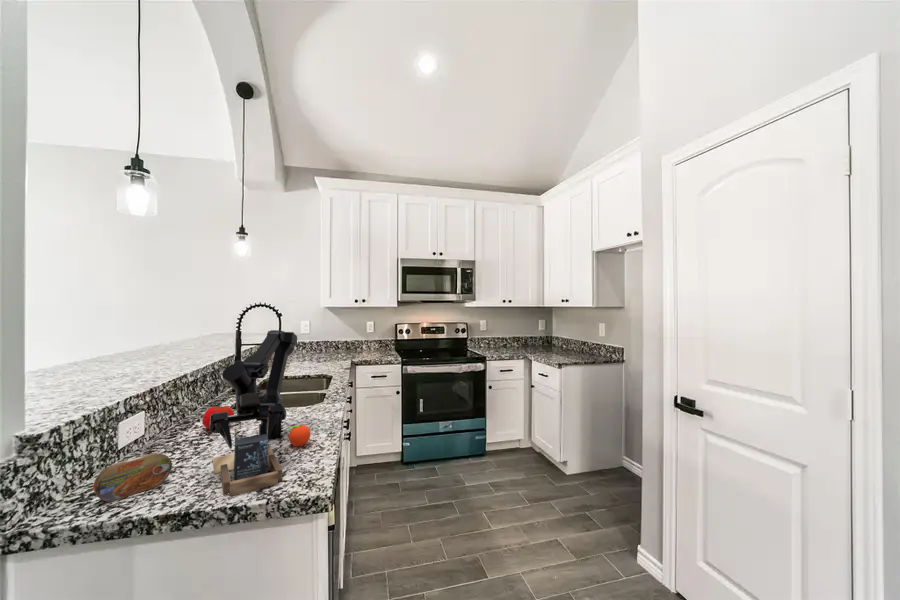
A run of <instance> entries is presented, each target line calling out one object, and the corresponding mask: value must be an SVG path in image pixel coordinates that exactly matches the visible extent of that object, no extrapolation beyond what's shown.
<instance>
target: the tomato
mask: <svg viewBox="0 0 900 600" xmlns="http://www.w3.org/2000/svg"><path fill="white" fill-rule="evenodd" d="M226 411H227V416H232V415H235V412H234V410H233V409H232V408H231V407H230V406H228V405H225V406H220V405H218V406H210V407H209V408H208V409H207V410H206V411H205V412H204V414H203V416H202V425H203V427H205V428H206V429H208V430H210V416H211V415H212V414H213V413H218V412H226ZM230 424H231V423H229V425H230Z"/></svg>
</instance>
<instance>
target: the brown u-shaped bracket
mask: <svg viewBox="0 0 900 600" xmlns="http://www.w3.org/2000/svg"><path fill="white" fill-rule="evenodd" d="M267 467H268V469H269V471H270V472H267V473H266V474H262V475H257V476H253V477H248V478H244V479H240V480H235V481H234V480H232V481H231V477H230V471H228V466H227V464H224V465H221V470H220V473H219V474H220V475H219V476H220V477H219V478H220V481H221V483H222V484H221V488H222V489H223V490H222V494H223V496H225V495H224V494H226V495H229V494H230V495H229V497H233V496H232V495H234V496H237V495H236V494H238V495H241V494H240V493H242V494H245V493H244V492H246V493H249V491H250V492H254V491H257V490H256V489H258V490H261V489H260V488H262V489H264V487H266V488H269V487H268V486H270V487H273V486H272V485H274V486H276V484H278V485H279V482H283V468H282V467H281V465H280V462H279V461H278V459H277V457H276V455H275V454H273V455H269V456H268V463H267ZM278 481H279V482H278ZM253 490H254V491H253ZM228 493H229V494H228Z"/></svg>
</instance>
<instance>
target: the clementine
mask: <svg viewBox="0 0 900 600" xmlns="http://www.w3.org/2000/svg"><path fill="white" fill-rule="evenodd" d="M288 431H289V433H288V441H289V443H290V444H291V445H292V446H294V447H303V446H304V445H306V444H307V443H308V442H309V441H310V439H311V435H312V434H311V430H310V428H309V427H308V426H306V425H305V424H297V425H293V426H291V427H289V428H288V429H287V430H286V431H285V434H286V433H287V432H288Z"/></svg>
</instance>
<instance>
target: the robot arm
mask: <svg viewBox="0 0 900 600" xmlns="http://www.w3.org/2000/svg"><path fill="white" fill-rule="evenodd" d="M297 342H298V335H297V334H295V332H294V331H284V330H278V329H277V330H274V329H273V330H272V329H271V330H268V331H267V334H266V336H265V338H264V340H263V341H262V343H260V345H259V347H258V348H257V349H256V351H255V352H254V353H253V354H251V355H249V356H247V357H246V358H245V359H244V360H243V361H242V360H234V363H232V364H231V365H228V366H227V367H225V369H223V371H222V379H224V380H225V382H226V383H227V384H228V385H229V387H230V388H231V389H233V390H235V406H236V414H234V415H232V416H227V411H226V412H218V413H213V414H212V415H211V416H210V429H209V432H211V433H212V432H214V433H215V434H219V435H220V436H221V437H222V438H223V439H224V441H225V443H226V445H227V447H228V448H229V449H230V450H231V449H232V448H233V441H232V440H233V439H232V434H231V430H230V424H233V423H239V422H248V421H253V420H256V422H260V423H259V425H258V435H262V434H266V436H267V439H268V443H269V442H270V440H273V439H278V438H279V437H280V438H282V437H283V434H282V421H283V420H284V421H285V420H286V415H287V409H286V407H285V405H284V399H283V397H282V395H281V389H282V384H283V381H284V375H285V371H286V367H287V362H288V361H287V360H288V358H289V357H288V356H289V355H290V354H291V353H292V352H293V351H294V350H295V347H296V344H297ZM273 354H274V355H273ZM272 356H273V359H272V361H271V362H272V363H271V368H269V367H270V366H269V361H270V359H271V357H272ZM269 369H270V372H269ZM268 372H269V376H268V380H267V385H266V388H265V389H260V390H259V391H258V388H257V380H256V379H264V378H265V377H266V375H267V374H268ZM229 423H230V424H229Z"/></svg>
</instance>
